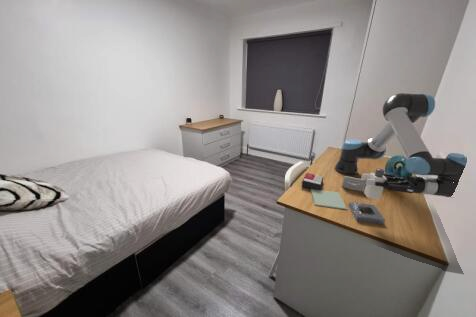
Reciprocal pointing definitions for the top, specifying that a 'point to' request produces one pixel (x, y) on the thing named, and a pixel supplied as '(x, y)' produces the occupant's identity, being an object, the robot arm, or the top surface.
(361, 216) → the socket
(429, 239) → the top surface
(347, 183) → the cassette
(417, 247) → the top surface
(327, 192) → the mat
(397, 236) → the top surface
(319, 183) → the calculator
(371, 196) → the plug
